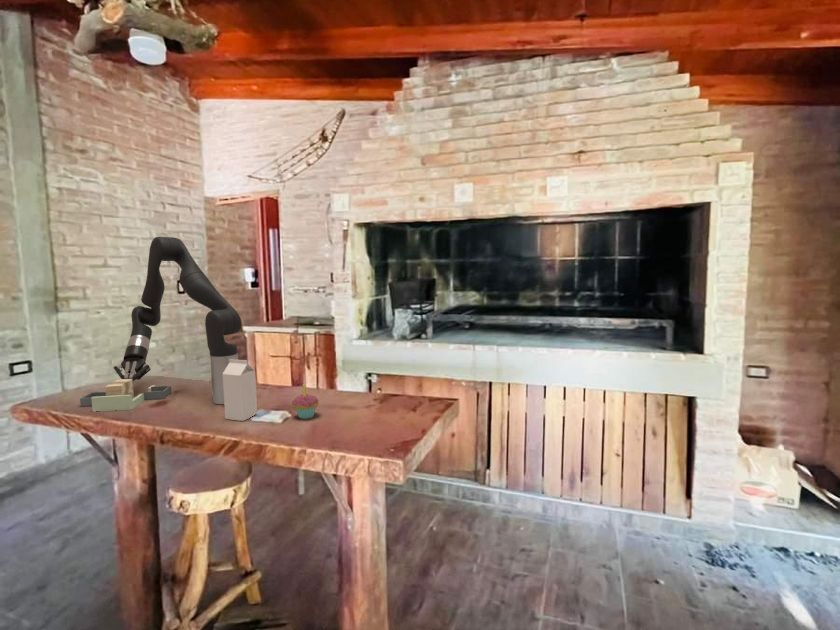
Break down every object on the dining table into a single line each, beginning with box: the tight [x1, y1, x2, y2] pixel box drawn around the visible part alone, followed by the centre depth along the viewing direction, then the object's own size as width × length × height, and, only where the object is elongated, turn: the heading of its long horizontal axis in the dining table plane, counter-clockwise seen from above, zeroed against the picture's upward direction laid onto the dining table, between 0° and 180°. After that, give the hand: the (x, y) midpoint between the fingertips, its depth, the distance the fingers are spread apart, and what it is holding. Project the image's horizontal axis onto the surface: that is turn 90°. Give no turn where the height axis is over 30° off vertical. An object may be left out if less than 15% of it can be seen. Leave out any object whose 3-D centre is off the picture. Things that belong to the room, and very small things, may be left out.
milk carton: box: [223, 359, 258, 422], centre depth 161 cm, size 7×7×19 cm
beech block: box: [104, 378, 135, 399], centre depth 178 cm, size 10×5×8 cm, turn 9°
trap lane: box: [79, 384, 172, 413], centre depth 182 cm, size 23×26×5 cm
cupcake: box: [291, 383, 319, 420], centre depth 162 cm, size 9×8×12 cm
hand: (126, 388), depth 183 cm, fingers closed
